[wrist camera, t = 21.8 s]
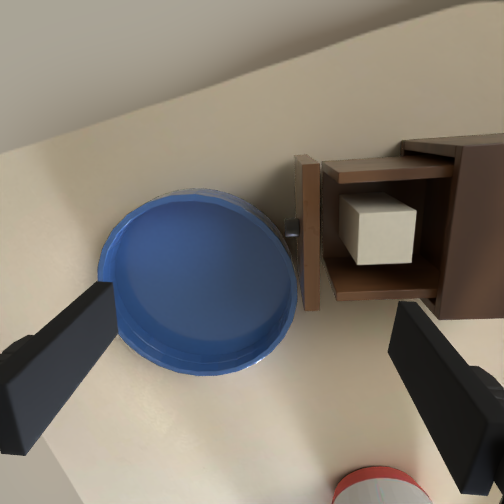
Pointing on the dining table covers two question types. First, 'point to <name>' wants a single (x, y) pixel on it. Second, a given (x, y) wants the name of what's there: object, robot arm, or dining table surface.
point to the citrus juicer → (379, 488)
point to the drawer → (333, 249)
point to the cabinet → (470, 227)
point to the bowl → (200, 282)
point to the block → (376, 228)
